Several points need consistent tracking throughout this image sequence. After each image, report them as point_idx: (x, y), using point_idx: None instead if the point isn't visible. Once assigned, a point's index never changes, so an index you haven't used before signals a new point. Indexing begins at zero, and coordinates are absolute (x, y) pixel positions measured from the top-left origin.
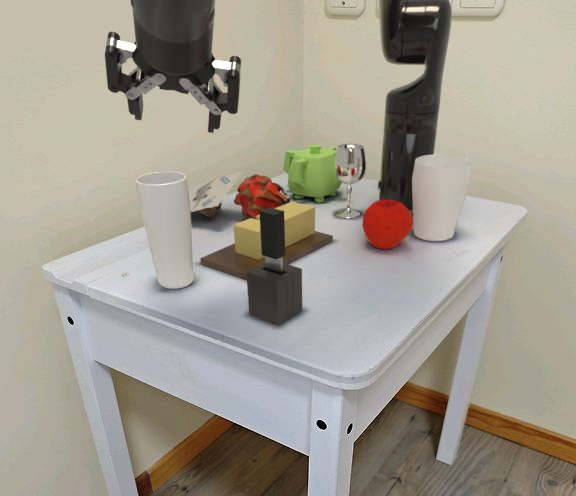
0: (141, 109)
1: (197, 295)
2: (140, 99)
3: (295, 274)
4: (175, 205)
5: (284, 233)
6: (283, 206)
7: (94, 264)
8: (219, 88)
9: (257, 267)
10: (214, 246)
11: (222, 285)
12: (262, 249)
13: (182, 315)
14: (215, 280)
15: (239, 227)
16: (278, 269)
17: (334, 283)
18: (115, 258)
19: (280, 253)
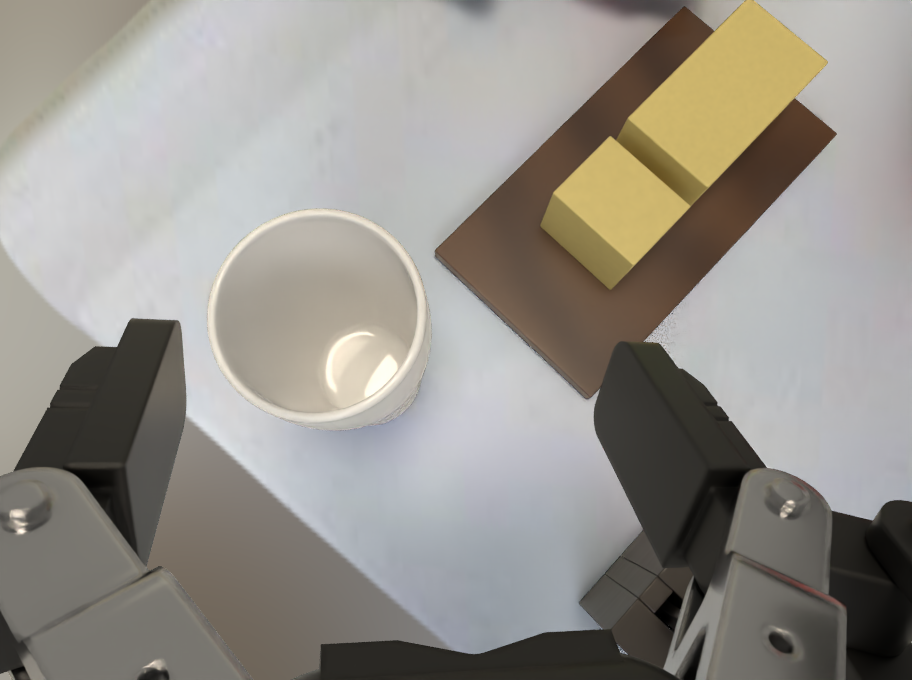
0: (172, 413)
1: (434, 464)
2: (149, 487)
3: None
4: (382, 415)
5: None
6: (721, 41)
7: (120, 214)
8: (830, 553)
9: (641, 601)
10: (470, 130)
11: (501, 409)
12: None
13: (399, 583)
14: (480, 373)
15: (573, 211)
16: None
17: (816, 437)
18: (178, 178)
19: None
